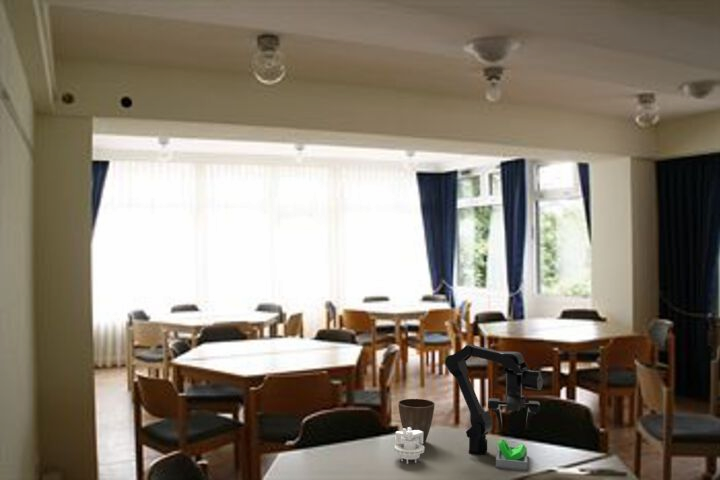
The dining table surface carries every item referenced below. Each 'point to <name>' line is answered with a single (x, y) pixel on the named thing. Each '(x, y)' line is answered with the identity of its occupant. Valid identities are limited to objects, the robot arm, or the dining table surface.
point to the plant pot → (417, 415)
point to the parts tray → (511, 461)
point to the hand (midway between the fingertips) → (513, 427)
